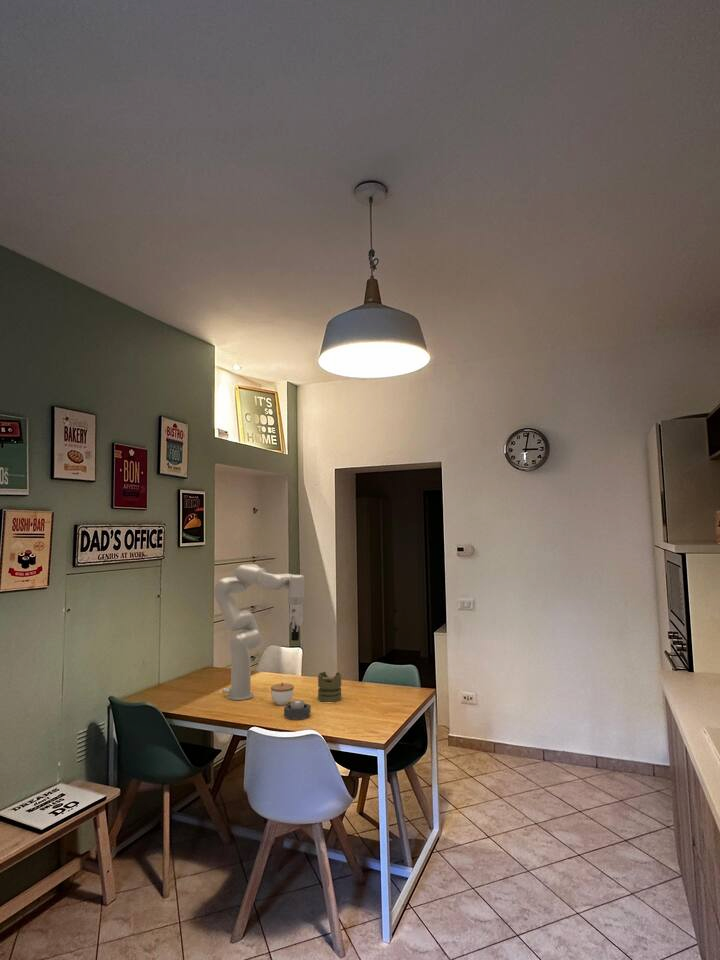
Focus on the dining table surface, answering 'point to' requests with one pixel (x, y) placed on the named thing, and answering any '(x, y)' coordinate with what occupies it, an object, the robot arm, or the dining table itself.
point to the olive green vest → (329, 687)
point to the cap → (297, 704)
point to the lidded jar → (282, 693)
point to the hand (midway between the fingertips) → (295, 640)
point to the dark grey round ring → (297, 712)
